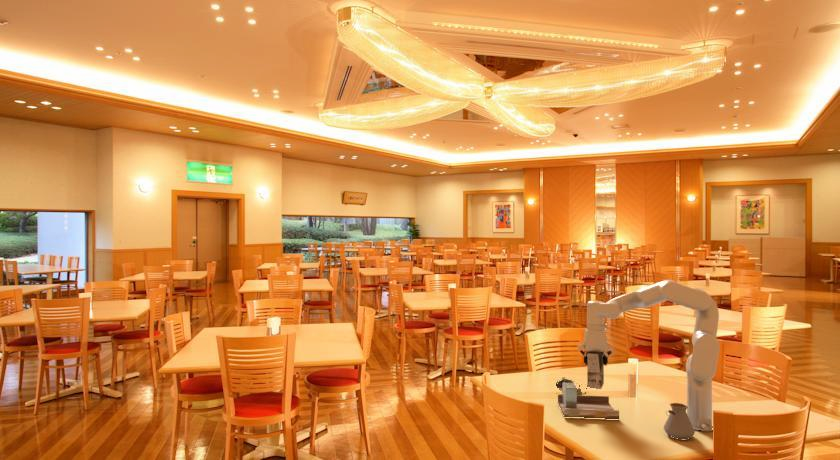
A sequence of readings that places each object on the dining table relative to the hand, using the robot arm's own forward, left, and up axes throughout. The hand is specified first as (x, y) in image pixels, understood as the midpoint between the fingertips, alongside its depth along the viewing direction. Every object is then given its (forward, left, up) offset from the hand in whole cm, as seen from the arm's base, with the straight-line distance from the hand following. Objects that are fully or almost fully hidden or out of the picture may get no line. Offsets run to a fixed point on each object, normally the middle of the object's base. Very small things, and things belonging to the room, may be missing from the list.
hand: (595, 364), depth 232 cm
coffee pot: (-28, -25, -23) cm, 44 cm away
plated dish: (+32, +5, -24) cm, 40 cm away
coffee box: (0, 0, -10) cm, 10 cm away
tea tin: (0, +12, -21) cm, 24 cm away
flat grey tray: (0, +4, -23) cm, 23 cm away
